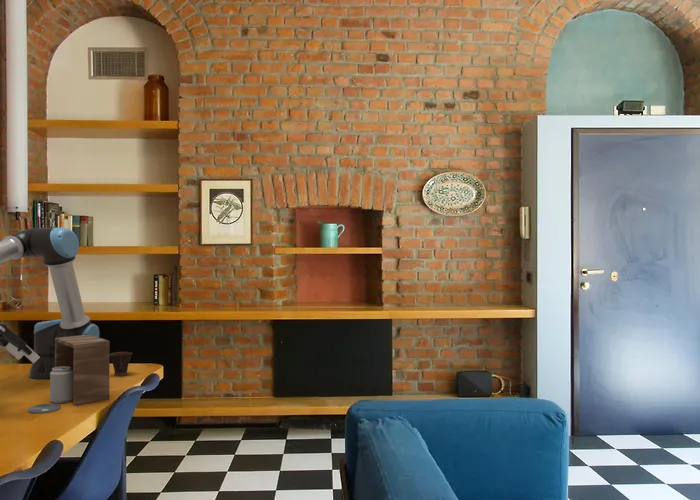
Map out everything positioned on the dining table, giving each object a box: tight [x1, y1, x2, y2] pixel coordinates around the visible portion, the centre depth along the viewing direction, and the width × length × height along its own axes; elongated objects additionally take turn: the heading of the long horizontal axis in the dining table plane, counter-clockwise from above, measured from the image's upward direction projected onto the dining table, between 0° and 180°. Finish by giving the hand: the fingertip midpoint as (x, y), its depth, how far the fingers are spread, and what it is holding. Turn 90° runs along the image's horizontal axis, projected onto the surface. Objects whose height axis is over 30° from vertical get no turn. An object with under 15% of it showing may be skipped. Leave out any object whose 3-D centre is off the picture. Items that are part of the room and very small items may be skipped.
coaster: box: [27, 403, 62, 415], centre depth 204 cm, size 10×10×1 cm
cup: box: [110, 351, 133, 377], centre depth 256 cm, size 9×9×10 cm
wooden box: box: [55, 335, 111, 407], centre depth 220 cm, size 19×12×21 cm, turn 45°
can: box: [49, 366, 73, 404], centre depth 215 cm, size 8×8×12 cm
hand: (29, 358), depth 208 cm, fingers open, 13 cm apart
